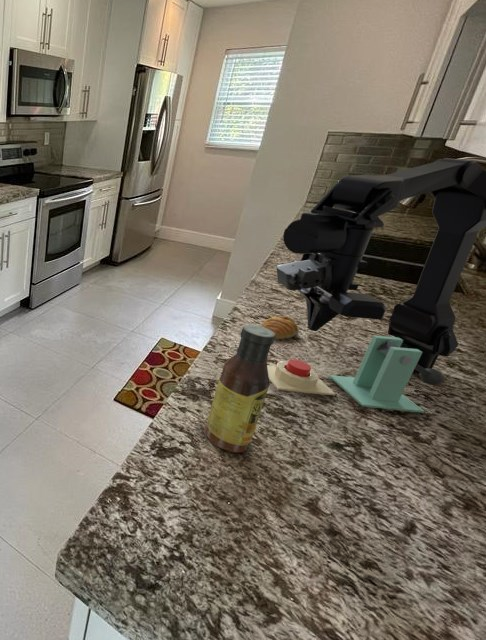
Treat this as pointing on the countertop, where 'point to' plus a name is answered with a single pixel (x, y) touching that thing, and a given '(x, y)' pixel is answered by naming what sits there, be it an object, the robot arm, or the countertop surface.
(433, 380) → the press lever
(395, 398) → the lever bracket
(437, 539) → the countertop surface
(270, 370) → the button block
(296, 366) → the button
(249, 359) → the sauce bottle
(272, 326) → the pastry
